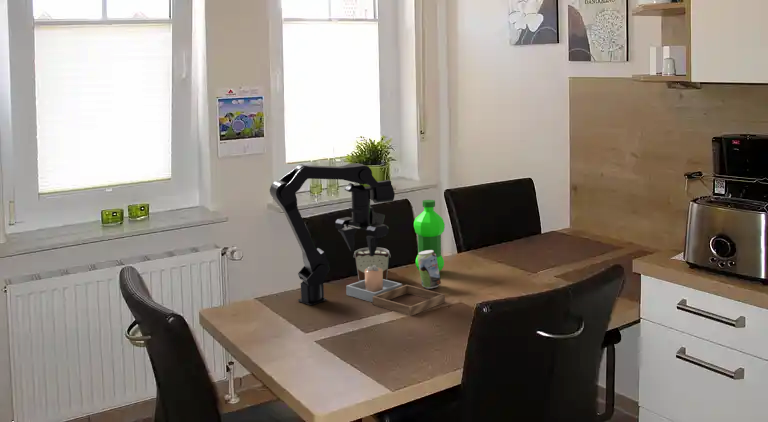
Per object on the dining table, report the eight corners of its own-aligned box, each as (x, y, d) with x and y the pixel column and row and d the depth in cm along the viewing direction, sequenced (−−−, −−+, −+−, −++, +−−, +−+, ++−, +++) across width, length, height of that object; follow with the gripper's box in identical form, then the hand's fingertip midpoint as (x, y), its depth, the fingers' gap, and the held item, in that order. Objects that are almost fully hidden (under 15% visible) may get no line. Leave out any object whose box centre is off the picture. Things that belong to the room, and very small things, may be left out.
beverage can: (439, 290, 252) (439, 253, 249) (416, 289, 253) (415, 253, 251) (442, 284, 258) (441, 248, 255) (419, 283, 259) (418, 248, 257)
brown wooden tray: (410, 315, 230) (410, 307, 229) (372, 304, 240) (372, 296, 240) (444, 302, 241) (444, 294, 240) (406, 292, 251) (406, 284, 251)
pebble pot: (374, 295, 246) (373, 269, 245) (361, 291, 250) (360, 266, 249) (386, 291, 250) (386, 265, 249) (374, 287, 254) (373, 262, 252)
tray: (374, 302, 242) (374, 293, 241) (346, 294, 250) (346, 285, 250) (402, 292, 251) (402, 283, 250) (374, 285, 259) (373, 276, 258)
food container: (392, 275, 269) (392, 246, 267) (391, 281, 263) (390, 251, 261) (356, 275, 271) (355, 246, 269) (354, 280, 265) (353, 251, 263)
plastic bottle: (428, 279, 264) (427, 205, 259) (408, 272, 272) (407, 200, 267) (451, 273, 270) (450, 201, 264) (431, 267, 278) (429, 196, 273)
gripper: (400, 204, 245) (401, 253, 248) (359, 197, 258) (360, 243, 261) (374, 210, 238) (375, 260, 241) (333, 202, 251) (334, 250, 254)
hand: (362, 253), depth 249 cm, fingers open, 9 cm apart
